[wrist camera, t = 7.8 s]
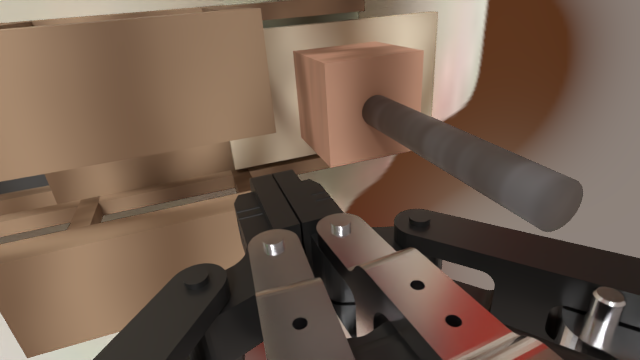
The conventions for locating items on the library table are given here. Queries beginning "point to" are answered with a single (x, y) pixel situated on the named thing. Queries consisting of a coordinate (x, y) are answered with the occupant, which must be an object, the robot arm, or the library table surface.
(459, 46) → the library table surface
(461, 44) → the library table surface
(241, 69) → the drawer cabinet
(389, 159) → the library table surface
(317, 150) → the cube with grey rod
